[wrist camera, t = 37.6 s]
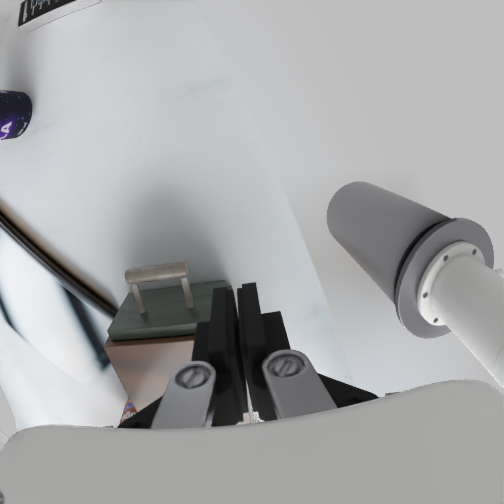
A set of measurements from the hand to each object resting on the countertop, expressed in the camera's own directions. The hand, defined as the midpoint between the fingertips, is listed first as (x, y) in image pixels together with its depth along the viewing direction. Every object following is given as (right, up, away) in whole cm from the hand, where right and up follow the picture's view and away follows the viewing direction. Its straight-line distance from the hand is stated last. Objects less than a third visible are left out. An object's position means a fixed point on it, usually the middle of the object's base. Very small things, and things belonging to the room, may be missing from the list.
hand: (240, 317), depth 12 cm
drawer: (-8, -6, +23) cm, 25 cm away
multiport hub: (-22, +32, +9) cm, 40 cm away
